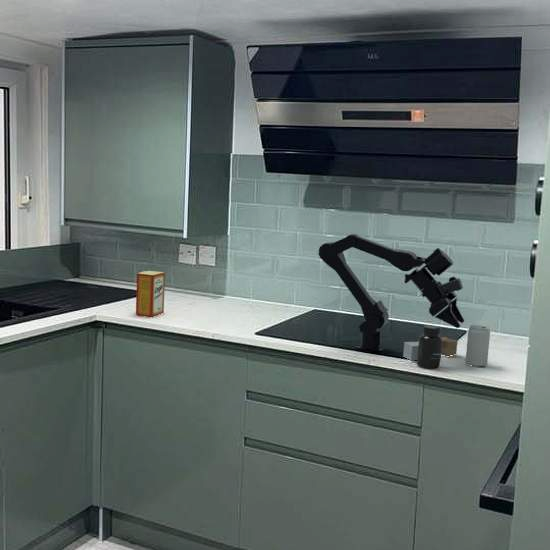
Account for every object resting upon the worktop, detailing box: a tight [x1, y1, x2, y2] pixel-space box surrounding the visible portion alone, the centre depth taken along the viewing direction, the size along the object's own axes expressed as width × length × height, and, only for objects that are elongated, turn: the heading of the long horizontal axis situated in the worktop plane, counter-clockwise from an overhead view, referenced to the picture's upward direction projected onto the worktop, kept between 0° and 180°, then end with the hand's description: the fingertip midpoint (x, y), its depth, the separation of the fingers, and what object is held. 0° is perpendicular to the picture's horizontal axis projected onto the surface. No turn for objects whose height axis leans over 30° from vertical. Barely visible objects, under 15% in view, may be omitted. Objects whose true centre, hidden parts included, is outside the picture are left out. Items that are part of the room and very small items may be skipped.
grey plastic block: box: [402, 341, 419, 362], centre depth 222 cm, size 5×5×5 cm
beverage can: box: [465, 324, 491, 367], centre depth 218 cm, size 6×6×12 cm
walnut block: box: [441, 336, 458, 356], centre depth 230 cm, size 5×5×5 cm
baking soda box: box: [135, 270, 166, 318], centre depth 267 cm, size 10×6×16 cm
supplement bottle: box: [416, 325, 443, 370], centre depth 214 cm, size 7×7×12 cm
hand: (461, 324), depth 220 cm, fingers open, 9 cm apart
